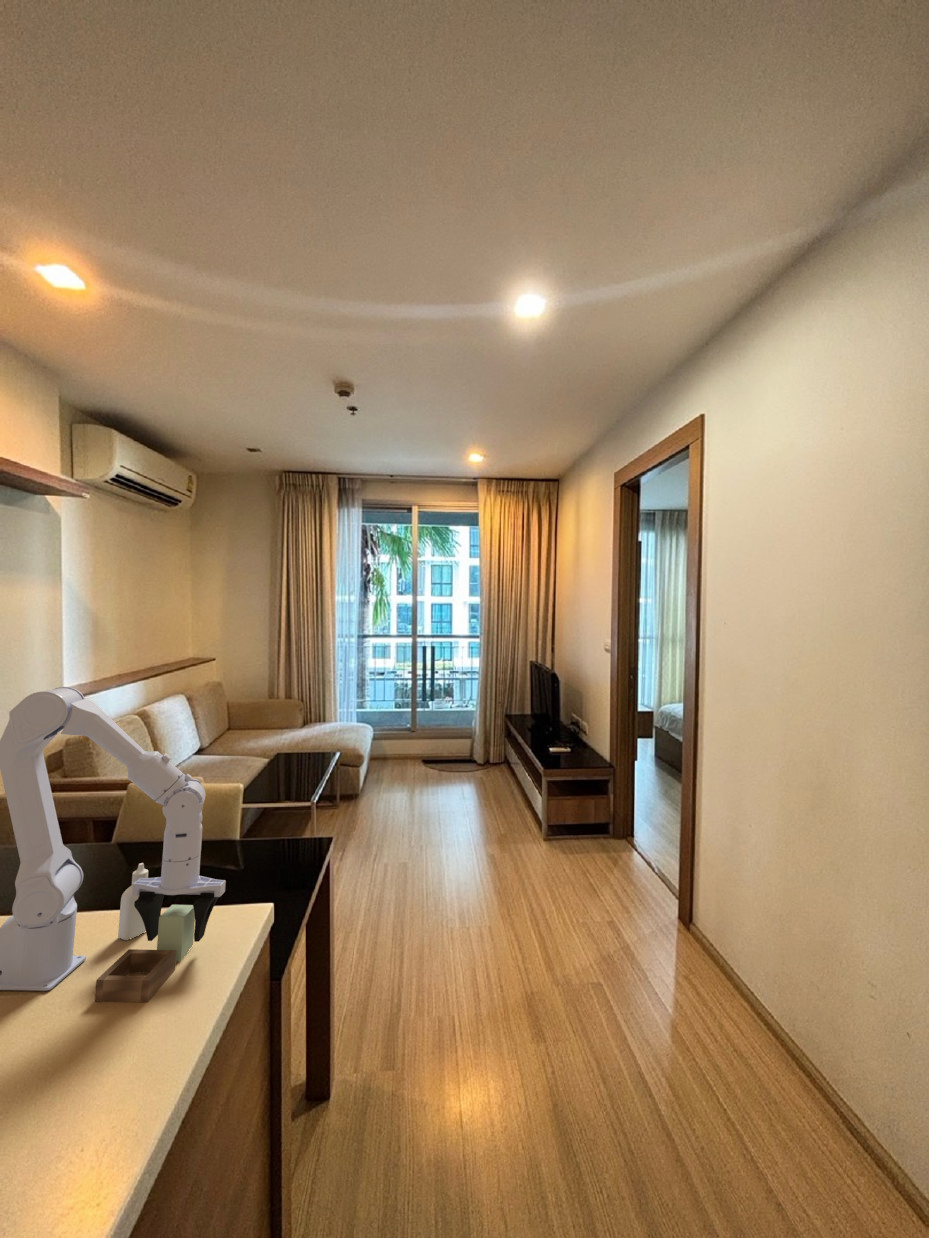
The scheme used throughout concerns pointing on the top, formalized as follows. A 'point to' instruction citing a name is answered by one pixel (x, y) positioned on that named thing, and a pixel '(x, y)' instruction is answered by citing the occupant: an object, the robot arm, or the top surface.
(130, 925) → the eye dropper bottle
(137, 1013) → the top surface
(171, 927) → the pale green block
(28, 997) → the top surface
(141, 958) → the socket block
